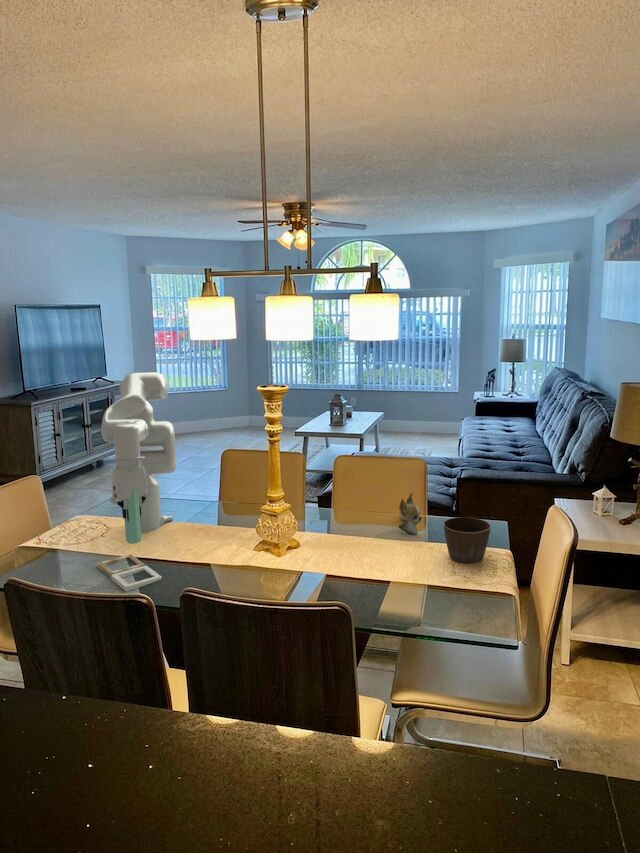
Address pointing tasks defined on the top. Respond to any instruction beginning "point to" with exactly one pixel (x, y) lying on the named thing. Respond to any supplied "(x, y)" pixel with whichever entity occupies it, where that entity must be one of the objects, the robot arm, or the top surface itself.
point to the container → (133, 518)
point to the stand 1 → (108, 571)
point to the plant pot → (466, 539)
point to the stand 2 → (134, 585)
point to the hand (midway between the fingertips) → (132, 518)
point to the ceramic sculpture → (409, 516)
